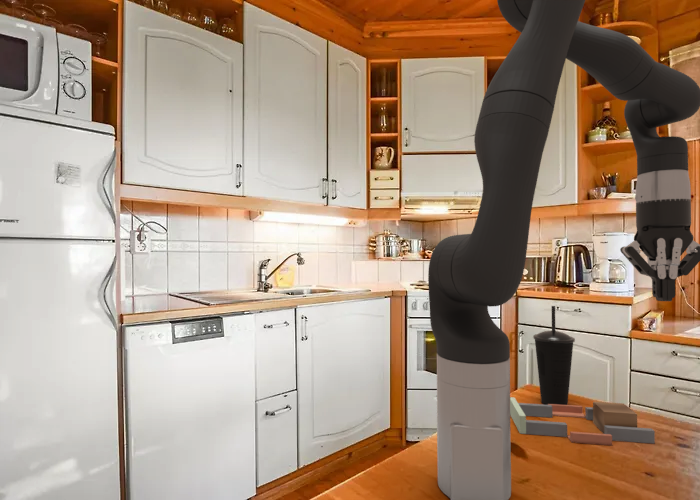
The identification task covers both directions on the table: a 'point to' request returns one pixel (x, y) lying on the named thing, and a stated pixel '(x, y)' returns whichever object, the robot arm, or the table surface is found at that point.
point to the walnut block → (613, 415)
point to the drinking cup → (554, 364)
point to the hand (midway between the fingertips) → (664, 300)
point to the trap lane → (580, 437)
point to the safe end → (518, 415)
